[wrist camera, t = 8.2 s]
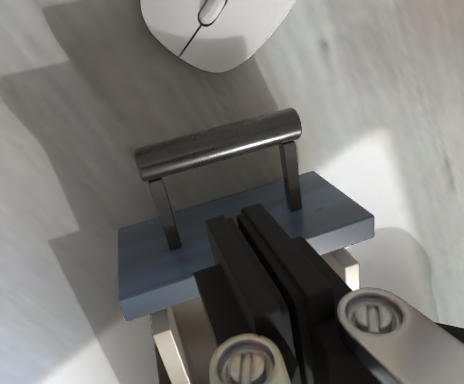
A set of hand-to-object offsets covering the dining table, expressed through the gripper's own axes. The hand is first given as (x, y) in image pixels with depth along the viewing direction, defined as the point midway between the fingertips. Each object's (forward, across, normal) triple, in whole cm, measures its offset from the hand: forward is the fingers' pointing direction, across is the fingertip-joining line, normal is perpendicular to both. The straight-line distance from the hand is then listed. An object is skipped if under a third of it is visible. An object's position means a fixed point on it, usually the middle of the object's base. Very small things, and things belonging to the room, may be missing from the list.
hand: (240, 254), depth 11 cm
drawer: (+9, -1, +7) cm, 12 cm away
